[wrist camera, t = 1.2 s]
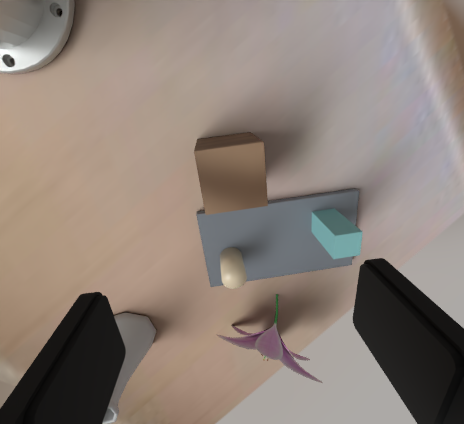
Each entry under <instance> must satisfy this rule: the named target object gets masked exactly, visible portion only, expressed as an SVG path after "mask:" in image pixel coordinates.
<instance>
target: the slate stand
mask: <svg viewBox="0 0 464 424" xmlns="http://www.w3.org/2000/svg"><path fill="white" fill-rule="evenodd" d="M358 198H359V190H357V189H348V190H341V191H335V192H328V193H321V194H314V195H307V196H300V197H293V198H287V199H280V200H273V201H268V206H264V207H257V208H250V209H244V210H237V211H230V212H223V213H216V214H209V215H206V214H205V210H204V211H197V220H198V225H199V230H200V235H201V240H202V245H203V250H204V255H205V260H206V265H207V270H208V276H209V281H210V286H211V287H214V286H221V285H224V286H226V287H227V288H231V289H236V288H239V287H241V286H243V285H244V284H245V282H246V281H252V280H259V279H265V278H271V277H278V276H284V275H290V274H297V273H303V272H310V271H316V270H322V269H329V268H335V267H341V266H348V265H352V257H353V256H351V257H345V258H338V259H333V258H332V257H331V255H330V254H329V253H328V252H327V251H326V249H325V248H324V247H323V246H322V244H321V243H320V242H319V241H318V239H317V238H316V237H315V236H314V234H313V233H312V212H314V211H320V210H327V209H334V208H335V209H336V210H337V211H338V212H339V213H341V214H342V215H343V216H344V217H345V218H347V219H348V220H349V221H350V222H351V223H353V224H354V225H355V226H356V217H357V208H358Z"/></svg>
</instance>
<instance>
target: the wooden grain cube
mask: <svg viewBox="0 0 464 424" xmlns="http://www.w3.org/2000/svg"><path fill="white" fill-rule="evenodd" d="M194 153H195V159H196V164H197V170H198V175H199V181H200V187H201V192H202V198H203V203H204V209H205V214H206V215H209V214H216V213H223V212H230V211H237V210H244V209H250V208H257V207H264V206H268V200H267V184H266V169H265V153H264V142H263V141H262V140H260V139H259V138H257V137H256V136H255V135H253V134H252V133H250V132H247V133H240V134H233V135H225V136H218V137H210V138H203V139H197V143H196V146H195V150H194Z"/></svg>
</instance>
